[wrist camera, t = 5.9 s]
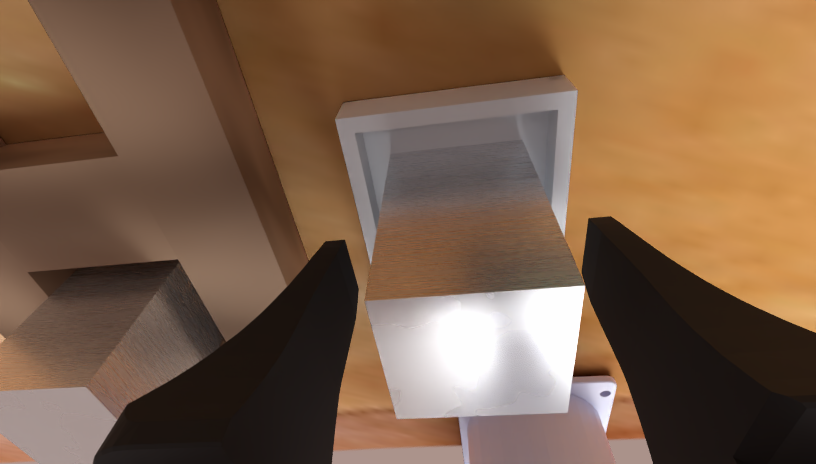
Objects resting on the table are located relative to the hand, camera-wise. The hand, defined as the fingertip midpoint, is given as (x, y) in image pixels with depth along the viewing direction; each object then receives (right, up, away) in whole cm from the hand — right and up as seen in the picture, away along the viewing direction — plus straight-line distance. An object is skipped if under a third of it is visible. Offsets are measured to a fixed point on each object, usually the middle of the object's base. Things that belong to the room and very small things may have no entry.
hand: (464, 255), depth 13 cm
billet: (0, +2, +3) cm, 3 cm away
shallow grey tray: (0, +2, +3) cm, 4 cm away
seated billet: (-12, -1, +6) cm, 14 cm away
